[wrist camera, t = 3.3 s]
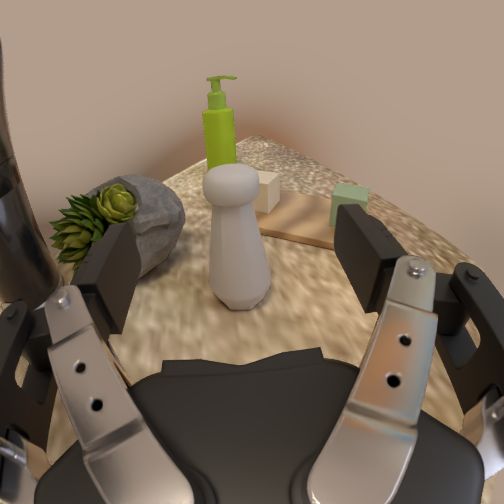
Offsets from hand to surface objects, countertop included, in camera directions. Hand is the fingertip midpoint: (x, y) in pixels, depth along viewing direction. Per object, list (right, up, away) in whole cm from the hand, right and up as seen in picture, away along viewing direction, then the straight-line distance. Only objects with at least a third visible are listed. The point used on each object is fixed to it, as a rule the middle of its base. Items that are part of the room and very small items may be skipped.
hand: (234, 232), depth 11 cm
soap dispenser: (-5, +15, +46) cm, 49 cm away
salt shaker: (0, -5, +18) cm, 18 cm away
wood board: (+8, +4, +29) cm, 31 cm away
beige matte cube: (+2, +6, +31) cm, 32 cm away
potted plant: (-14, -3, +21) cm, 26 cm away
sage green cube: (+14, +3, +26) cm, 30 cm away
